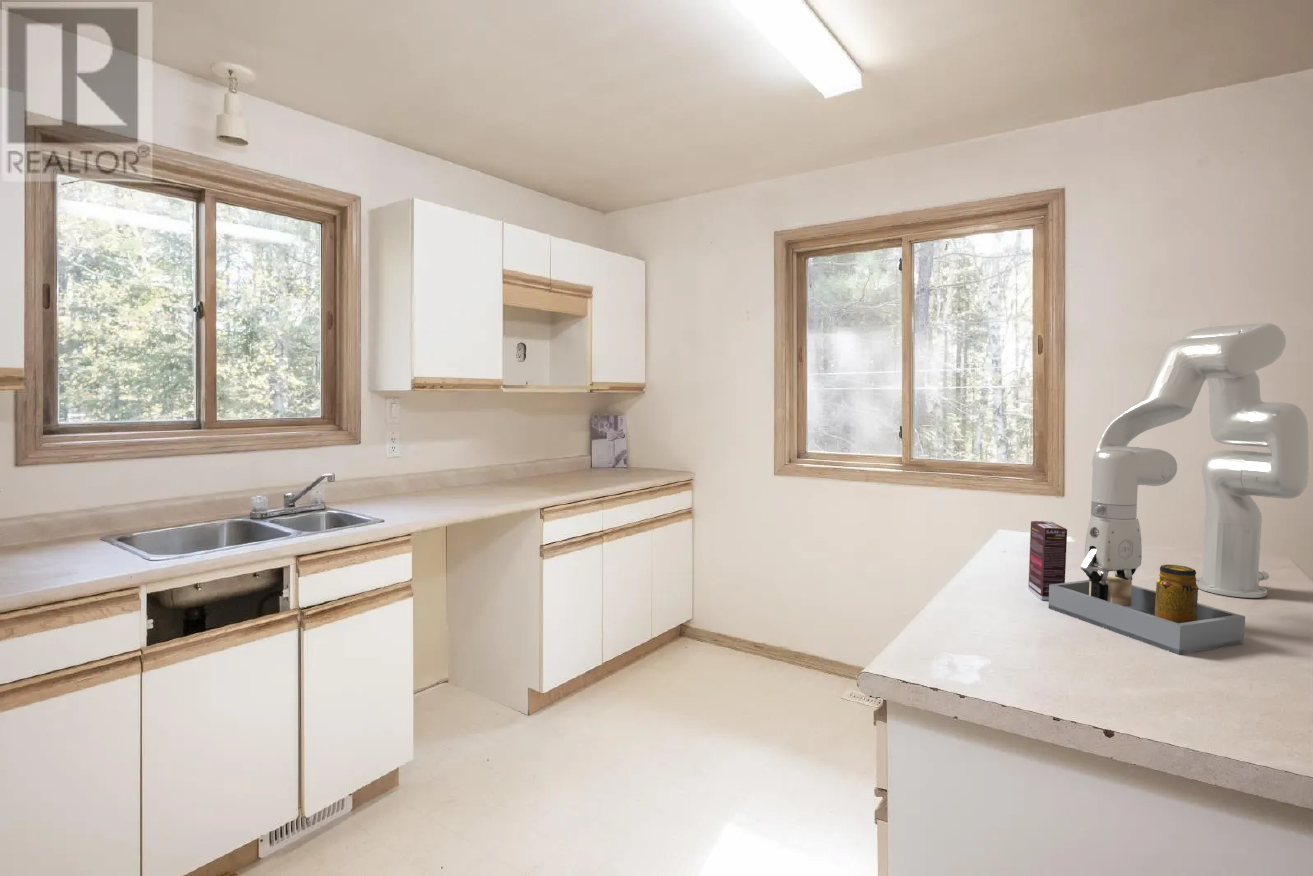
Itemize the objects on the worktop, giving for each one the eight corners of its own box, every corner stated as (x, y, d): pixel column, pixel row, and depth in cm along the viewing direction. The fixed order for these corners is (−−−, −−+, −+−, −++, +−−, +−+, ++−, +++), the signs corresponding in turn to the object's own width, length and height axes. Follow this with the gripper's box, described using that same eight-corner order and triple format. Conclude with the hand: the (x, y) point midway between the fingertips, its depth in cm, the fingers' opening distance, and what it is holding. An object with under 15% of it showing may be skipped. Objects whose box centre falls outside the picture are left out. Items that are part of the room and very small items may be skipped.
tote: (1106, 600, 143) (1107, 577, 143) (1243, 643, 119) (1245, 616, 118) (1048, 608, 139) (1049, 584, 138) (1178, 654, 114) (1180, 626, 113)
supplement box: (1065, 602, 143) (1068, 528, 142) (1041, 600, 144) (1043, 528, 143) (1050, 590, 151) (1052, 521, 150) (1027, 589, 152) (1029, 520, 151)
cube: (1107, 598, 137) (1108, 574, 137) (1130, 606, 132) (1131, 581, 132) (1088, 600, 136) (1089, 576, 135) (1111, 608, 131) (1112, 583, 131)
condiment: (1167, 623, 127) (1170, 561, 126) (1218, 638, 119) (1221, 572, 118) (1142, 628, 124) (1144, 565, 123) (1192, 644, 116) (1196, 576, 116)
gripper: (1098, 517, 127) (1094, 611, 128) (1163, 512, 132) (1159, 602, 133) (1063, 511, 134) (1060, 599, 135) (1126, 506, 139) (1123, 592, 140)
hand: (1109, 600), depth 134 cm, fingers closed on cube, 5 cm apart
